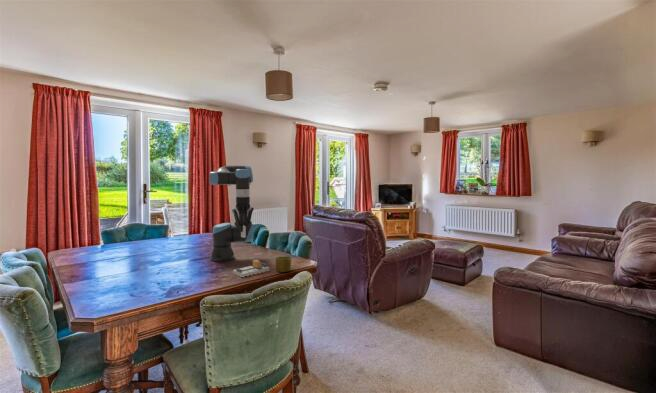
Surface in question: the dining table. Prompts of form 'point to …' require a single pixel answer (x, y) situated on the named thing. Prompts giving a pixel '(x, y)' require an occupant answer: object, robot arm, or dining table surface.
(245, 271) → the console
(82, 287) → the dining table surface
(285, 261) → the mug
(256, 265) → the fader
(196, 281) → the dining table surface
